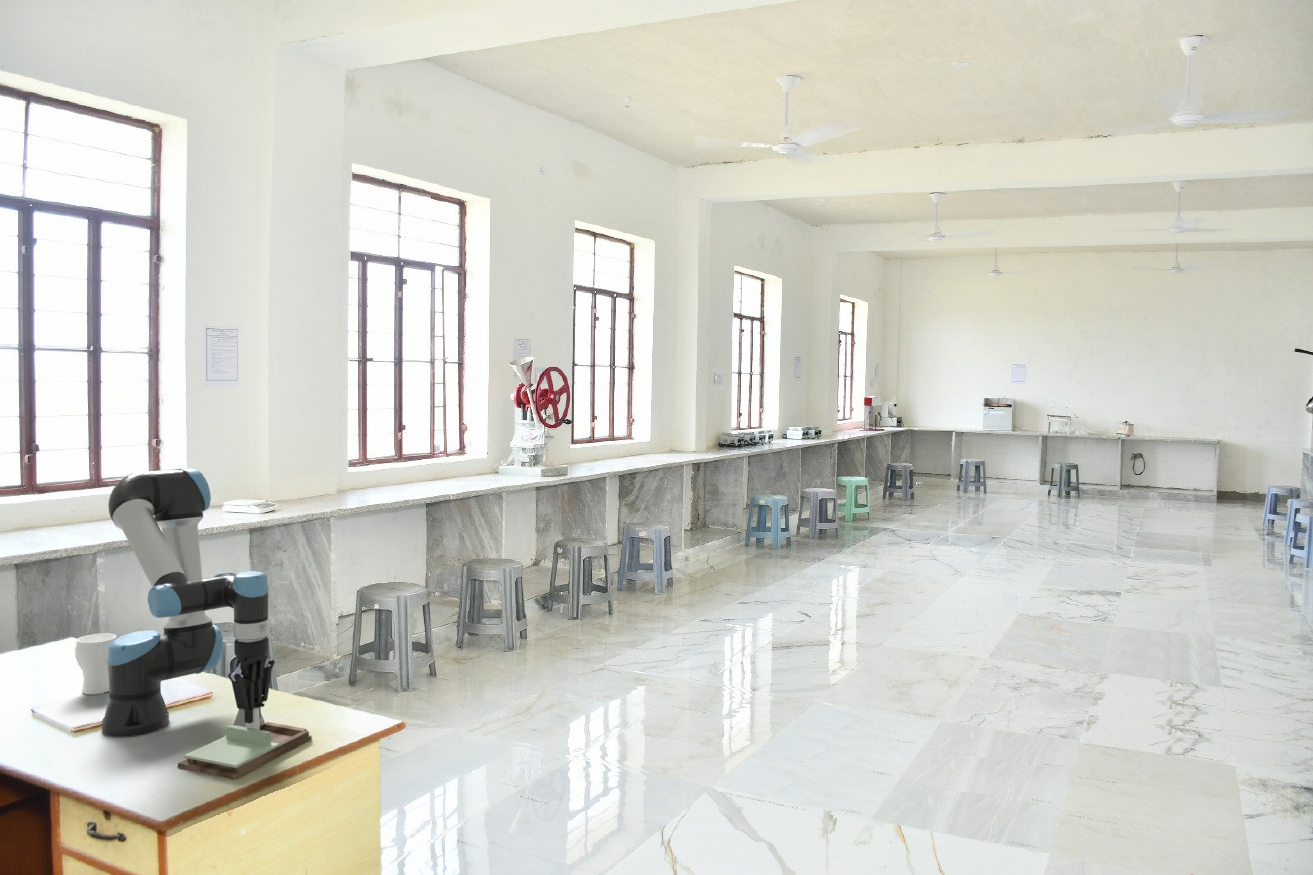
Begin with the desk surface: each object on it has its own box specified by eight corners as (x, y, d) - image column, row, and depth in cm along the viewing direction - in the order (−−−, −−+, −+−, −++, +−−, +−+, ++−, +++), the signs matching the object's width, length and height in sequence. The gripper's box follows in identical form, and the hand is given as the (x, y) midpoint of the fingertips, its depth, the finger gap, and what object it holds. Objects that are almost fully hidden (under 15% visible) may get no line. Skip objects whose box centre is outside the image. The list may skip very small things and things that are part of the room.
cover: (184, 757, 224) (184, 742, 224) (229, 736, 237) (229, 722, 237) (236, 768, 219) (236, 752, 219) (279, 746, 232) (279, 731, 231)
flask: (252, 731, 247) (252, 692, 247) (227, 728, 249) (226, 690, 248) (269, 720, 255) (269, 683, 254) (244, 718, 256) (244, 681, 255)
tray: (177, 767, 225) (177, 756, 225) (256, 729, 248) (256, 720, 248) (236, 779, 219) (235, 768, 219) (311, 739, 242) (311, 729, 242)
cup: (127, 688, 277) (126, 636, 276) (89, 699, 268) (87, 645, 267) (107, 681, 282) (105, 630, 281) (68, 691, 274) (67, 639, 272)
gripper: (243, 646, 225) (245, 746, 227) (283, 632, 237) (284, 727, 239) (218, 643, 227) (219, 741, 229) (258, 629, 239) (259, 722, 241)
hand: (252, 734), depth 234 cm, fingers closed
